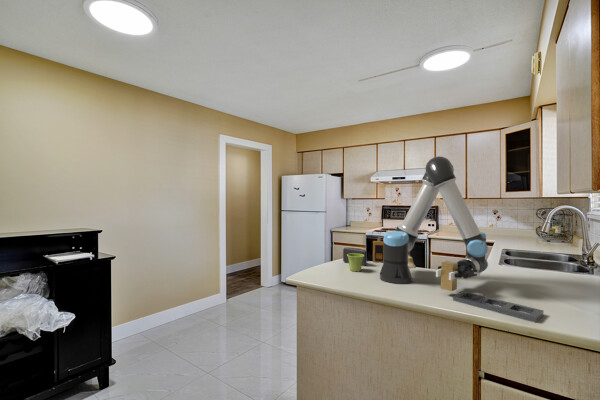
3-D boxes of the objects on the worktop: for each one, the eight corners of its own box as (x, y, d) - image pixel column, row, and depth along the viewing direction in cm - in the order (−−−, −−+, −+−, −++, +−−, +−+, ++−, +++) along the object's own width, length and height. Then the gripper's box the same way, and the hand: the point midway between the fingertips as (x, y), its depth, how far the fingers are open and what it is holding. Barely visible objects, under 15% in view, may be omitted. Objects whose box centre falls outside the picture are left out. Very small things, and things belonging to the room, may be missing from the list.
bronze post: (440, 288, 121) (441, 262, 121) (445, 286, 124) (446, 260, 124) (451, 291, 118) (452, 264, 118) (456, 289, 121) (457, 262, 120)
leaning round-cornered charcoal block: (369, 265, 174) (369, 249, 174) (365, 266, 171) (365, 250, 171) (346, 261, 185) (346, 246, 185) (342, 262, 182) (342, 247, 182)
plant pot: (367, 270, 161) (367, 255, 161) (357, 273, 155) (357, 257, 155) (353, 267, 168) (353, 252, 168) (343, 270, 162) (343, 254, 161)
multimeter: (389, 259, 191) (389, 229, 191) (390, 263, 181) (391, 231, 181) (366, 258, 194) (366, 228, 194) (366, 261, 184) (367, 230, 184)
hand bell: (409, 264, 178) (409, 238, 178) (418, 267, 171) (419, 240, 171) (398, 265, 176) (398, 238, 176) (407, 268, 168) (407, 240, 168)
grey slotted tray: (453, 300, 115) (453, 296, 115) (463, 295, 121) (463, 291, 121) (535, 322, 94) (535, 317, 94) (543, 315, 101) (543, 310, 101)
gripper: (488, 280, 125) (466, 290, 111) (447, 271, 139) (422, 279, 124) (489, 263, 125) (466, 270, 111) (447, 255, 139) (422, 261, 124)
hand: (443, 275), depth 117 cm, fingers closed on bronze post, 4 cm apart
